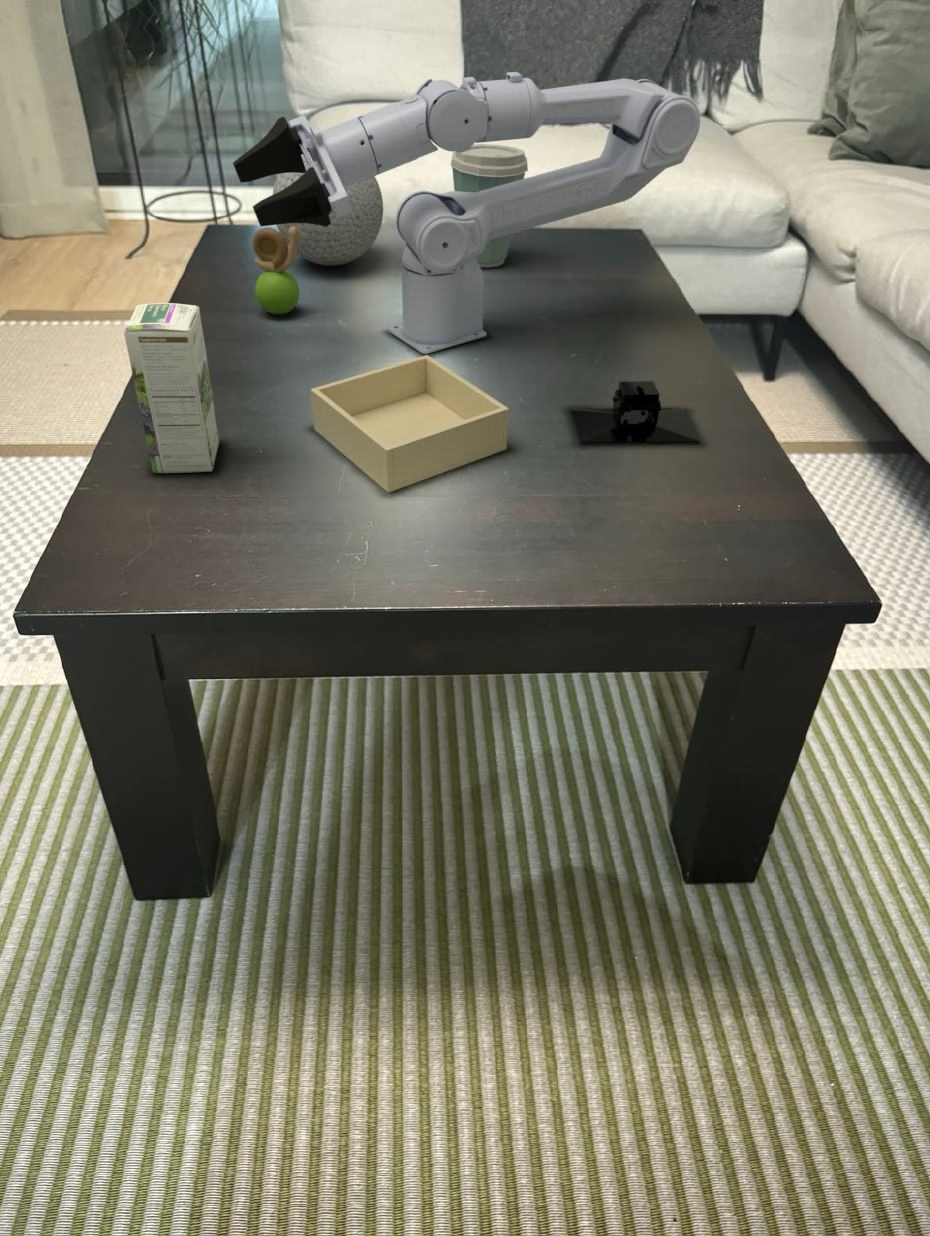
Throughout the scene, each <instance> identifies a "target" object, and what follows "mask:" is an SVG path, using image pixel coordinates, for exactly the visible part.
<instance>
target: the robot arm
mask: <svg viewBox="0 0 930 1236" xmlns="http://www.w3.org/2000/svg"><path fill="white" fill-rule="evenodd" d="M462 81H463V82H462V84H461V85H460V86H457V85H456V84H454V83H452V82H451V81H449V80H446V79H436V80H433V79H432V78H429V79H427V80H426V81H424V82H423V83H422V84H420V86H419V87H417V89H416V91H415V93H414V95H413V96H410V97H408V98H405V99H402V100H400V101H395V102H393V103H390V104H387V105H385V106H383V107H379V108H376V109H373V110H372V111H370V112H367V113H364V114H362V115H360V116H357V117H354V118H351V119H349V120H347V121H344V122H341V123H339V124H337V125H333V126H332V127H329V128H327V129H324V130H320V129H319V127H318V125H317V124H316V123H313V124H312V123H310V121H309V120H308V118H307V117H306V115H305V114H303V115H300V116H299V117H295V118H293V119H291V120H288V121H287V120H286V117H285V116H282V117H279V118H278V119H277V120H276V121H275V123H274V125H273V126H272V127H271V128H270V130H269V131H268V132H267V133H266V134H265V136H263V137H262V138H261V140H260V141H259V142H257V143H256V144H255V145H254V146H252V147H251V148H250V149H249V150H248V151H245V153H243V154H242V155H241V156H239V157H238V158H237V159H236V160H234V161H233V162H232V165H233V167H234V171H235V172H236V175H237V178H238V179H239V182H240V183H249V182H253V181H257V180H260V179H263V178H266V177H271V176H275V175H278V174H281V173H304V174H303V175H302V176H301V177H300V178H299V179H297V180H296V181H295V182H294V183H292V184H291V185H290V186H288V187H286V188H285V189H283V190H282V191H280V192H278V193H276V194H274V195H273V194H272V195H269V196H268V197H265V198H264V199H262V200H259V202H257V203H256V204H254V205H253V206H252V210H253V212H254V214H255V216H256V219H257V221H258V224H259V227H269V226H277V225H278V224H288V223H307V224H315V225H321V226H325V227H326V226H328V225H331V221H330V218H329V214H330V212H331V211H332V213H333V215H334V217H335V218H338V217H341V216H343V215H346V214H348V213H351V212H352V208H351V205H350V201H349V198H348V195H347V193H346V191H345V189H344V188H346V187H349V186H351V185H354V184H356V183H359V182H361V181H364V180H366V179H369V178H371V177H374V176H375V177H376V176H378V175H380V174H383V173H386V172H389V171H391V170H394V169H396V168H398V167H401V166H403V165H406V164H409V163H411V162H413V161H416V160H417V159H419V158H422V157H424V156H428V155H430V154H432V153H435V152H437V151H438V150H439V148H440V149H442V150H445V151H446V152H452V153H453V152H458V153H462V152H464V151H466V150H467V149H469V148H470V147H471V146H472V145H475V144H482V143H490V142H491V143H492V142H500V141H502V142H503V141H511V140H512V141H513V140H523V139H530V138H532V137H534V135H535V134H536V133H537V131H538V130H539V129H540V128H541V126H543V125H554V124H556V125H557V124H581V123H582V124H583V123H585V124H586V123H610V126H609V128H608V133H607V137H606V140H605V145H604V148H603V151H602V152H601V154H600V156H599V157H596V158H594V159H590V160H586V161H583V162H578V163H576V164H571V165H568V166H565V167H561V168H557V169H555V170H550V171H547V172H544V173H540V174H536V175H533V176H530V177H524V179H522V180H518V181H515V182H511V183H507V184H504V185H500V186H497V187H493V188H490V189H486V190H482V191H479V192H474V193H473V192H461V191H454V190H450V191H447V192H441V193H437V192H433V191H429V190H418V191H415V192H412V193H410V194H409V195H407V196H406V197H405V198H404V199H403V200H402V202H401V203H400V205H399V207H398V208H397V211H396V216H395V224H396V230H397V232H398V235H399V236H400V238H401V239H402V240H403V241H404V242H405V248H404V250H403V253H402V255H401V292H402V293H401V295H402V296H401V298H402V300H401V301H402V302H401V303H402V304H401V305H402V323H400V324H396V325H393V326H389V328H388V332H389V333H390V334H391V335H393V336H395V337H397V338H398V339H400V340H401V341H403V342H404V343H406V344H407V345H408V346H410V347H412V348H413V349H415V350H416V351H418V352H419V353H421V354H423V355H428V354H431V353H434V352H438V351H442V350H445V349H448V348H451V347H455V346H458V345H462V344H466V343H468V342H472V341H475V340H478V339H482V338H485V337H487V332H486V331H485V330H483V329H484V307H485V306H484V305H485V303H484V301H485V279H484V275H483V272H482V267H480V266H479V264H478V263H477V261H476V260H475V259H474V258H473V257H472V256H475V255H478V254H481V253H482V252H483V251H484V249H485V247H486V245H487V243H488V242H489V240H491V239H495V238H498V237H502V236H505V235H508V234H511V235H512V234H516V233H518V232H522V231H525V230H529V229H533V228H536V227H540V226H543V225H546V224H550V223H554V222H557V221H561V220H564V219H567V218H570V217H571V218H572V217H574V216H578V215H581V214H585V213H588V212H592V211H595V210H598V209H602V208H605V207H609V206H613V205H617V204H619V203H623V202H626V201H628V200H630V199H632V198H633V197H634V196H636V195H637V194H638V193H639V192H640V191H642V189H644V188H645V187H646V186H647V185H648V184H650V183H651V182H652V181H653V180H655V179H656V178H657V177H658V176H659V175H660V174H661V173H663V172H664V171H665V170H666V169H669V168H671V167H674V166H677V165H679V164H683V162H684V160H685V159H686V157H687V155H688V154H689V152H690V150H691V148H692V146H693V144H694V143H695V141H696V139H697V137H698V134H699V132H700V128H701V113H700V110H699V107H698V105H697V104H696V102H695V101H693V99H691V98H690V97H688V96H685V95H681V94H680V95H679V94H678V93H675V92H673V91H671V90H668V89H667V88H664V87H662V86H660V85H659V84H658V83H657V82H655V81H653V80H651V79H648V78H647V79H646V78H642V79H637V80H634V79H631V78H618V79H612V80H605V81H597V82H590V83H589V82H588V83H582V84H574V85H568V86H567V85H566V86H559V87H552V88H545V89H544V88H543V89H539V87H538V86H537V85H536V84H535V82H534V81H533V80H532V79H531V78H529V77H523V75H522V74H521V73H519V72H518V71H509V72H506V74H505V79H494V80H493V79H492V80H481V81H479V80H478V81H477V79H476V78H475V77H474V76H467V77H464V78H463V80H462ZM309 153H310V154H309ZM302 154H304V156H305V158H306V160H307V162H308V164H309V166H310V168H309V169H308V170H307V171H306V168H305V165H304V162H303V159H302V156H301V155H302ZM310 155H311V156H310ZM315 161H316V163H317V165H318V167H319V169H320V172H321V174H322V176H323V178H324V181H325V182H324V181H323V179H322V177H321V175H320V173H319V171H318V169H317V167H316V166H315V164H314V162H315Z"/></svg>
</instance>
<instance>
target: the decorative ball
mask: <svg viewBox="0 0 930 1236" xmlns="http://www.w3.org/2000/svg"><path fill="white" fill-rule="evenodd" d="M309 154H310V153H309ZM301 156H302V159H303V162H304V165H305V168H306V171H307V170H308V169H309V168H310V166H309V164H308V162H307V160H306V158H305V156H304V154H302V155H301ZM310 156H311V155H310ZM314 164H315V166H316V167H317V169H318V171H319V173H320V175H321V177H322V179H323V181H324V178H323V176H322V174H321V172H320V169H319V167H318V165H317V163H316V161H315V162H314ZM303 174H304V173H281V174H277V177H276V179H275V182H274V186H273V190H272V195H274V194H276V193H278V192H280V191H282V190H283V189H285V188H286V187H288V186H290V185H291V184H292V183H294V182H295V181H296V180H297V179H299V178H300V177H301V176H302V175H303ZM324 182H325V181H324ZM344 189H345V191H346V193H347V195H348V198H349V201H350V205H351V208H352V212H351V213H348V214H346V215H343V216H341V217H338V218H335V217H334V215H333V213H332V211H331V212H330V214H329V218H330V221H331V225H328V226H326V227H325V226H321V225H315V224H307V223H288V224H278V225H276V227H277V231H278V232H279V233H281V234H282V235H283V237H284V238H285V240H286V242H287V244H288V246H289V241H290V237H289V233H288V231H289V229H290V227H292V226H295V227H296V224H297V227H298V224H299V227H298V228H299V230H300V237H299V244H298V252H297V256H300V257H301V258H303V259H305V260H306V261H308V262H311V263H313V264H317V265H321V266H327V267H332V266H333V267H334V266H335V267H336V266H342V265H345V264H348V263H351V262H354V261H355V260H357V259H359V258H360V257H362V256H363V255H364V254H365V253H367V252H368V251H369V249H370V248H371V247H372V245H373V244H374V242H375V241H376V239H377V237H378V235H379V234H380V231H381V228H382V224H383V218H384V200H383V195H382V190H381V187H380V184H379V182H378V179H377V177H376V176H374V177H371V178H369V179H366V180H364V181H361V182H359V183H356V184H354V185H351V186H349V187H346V188H344Z"/></svg>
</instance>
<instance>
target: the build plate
mask: <svg viewBox="0 0 930 1236" xmlns="http://www.w3.org/2000/svg"><path fill="white" fill-rule="evenodd" d="M660 395H661V394H660V392H659V390H658V387H657V386H656V383H655V382H654V381H649V380H648V381H647V380H646V381H643V380H642V381H641V380H640V381H619V382H618V389H615V392H614V396H613V397H612V401H613V404H612V405H613V407H612V408H571V409H570V412H569V413H570V416H571V420H572V424H573V427H574V430H575V433H576V437H577V440H578V443H579V445H581V446H603V445H604V446H606V445H607V446H608V445H609V446H613V445H614V446H615V445H616V446H617V445H618V446H619V445H620V446H621V445H622V446H623V445H628V446H629V445H698V444H699V443H700V439H699V437H698V436H697V434H696V431H695V429H694V427H693V425H692V423H691V421H690V419H689V417H688V415H687V414H686V413H687V412H686V410H685V409H684V408H682V407H667V408H666V407H662V402H661V400H660Z"/></svg>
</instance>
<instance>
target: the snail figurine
mask: <svg viewBox="0 0 930 1236" xmlns="http://www.w3.org/2000/svg"><path fill="white" fill-rule="evenodd" d="M298 227H299V224H298ZM298 227H297V224H296V227H295V226H292V227H290V229H289V231H288V233H289V237H290V241H289V245H288V244H287V242H286V240H285V238H284V237H283V235H282V234H281V233H280V232H279V230H278V229H274V228H272V227H263V228H260V229H258V230H256V232H255V233H254V235H253V237H252V248H253V252H254V253H255V254H256V256H257V257H258V258H255V259H254V263H255V264H256V265H257V266H258V267H259V268H260V269H261V270H263V272H262V273H261V274H260V275H259V277H258V278H257V279H256V283H255V288H254V293H255V298H256V300H257V302H258V304H259V305H260V307H261V308H262V309H263V310H264V311H266V312H267V313H269V314H271V315H272V314H273V315H285V314H287V313H289V312H291V311H292V310H293V309H294V308H295V307H296V306H297V304H298V302H299V299H300V287H299V283H298V282H297V280H296V278H295V277H294V276H293V274H291V272H289V271H287V270H289V269H291V268H292V267H293V266H294V264H295V262H296V260H297V257H298V254H297V252H298V244H299V237H300V230H299V228H298Z"/></svg>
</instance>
